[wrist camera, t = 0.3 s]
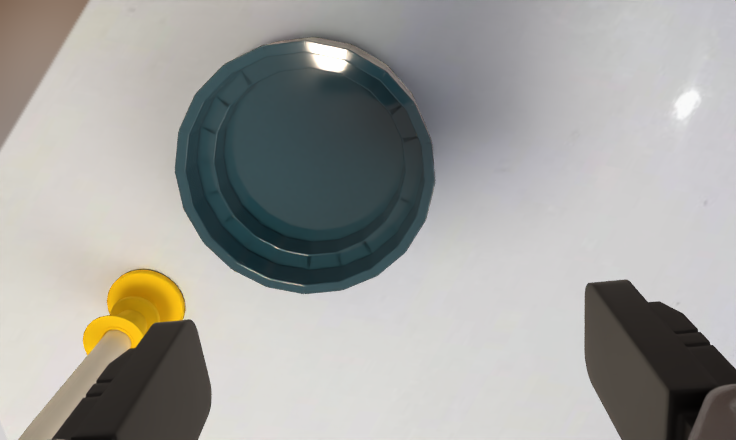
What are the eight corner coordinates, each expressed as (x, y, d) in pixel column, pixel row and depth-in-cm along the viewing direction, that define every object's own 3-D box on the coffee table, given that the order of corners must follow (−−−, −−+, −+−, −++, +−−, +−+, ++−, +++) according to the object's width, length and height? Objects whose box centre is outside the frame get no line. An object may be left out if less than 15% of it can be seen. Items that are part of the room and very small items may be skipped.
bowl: (179, 53, 36) (148, 59, 31) (416, 23, 35) (422, 25, 30) (226, 270, 40) (205, 304, 36) (436, 248, 40) (443, 280, 35)
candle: (200, 311, 41) (100, 477, 27) (145, 349, 43) (20, 528, 28) (150, 254, 40) (15, 395, 25) (94, 295, 41) (-66, 452, 27)
